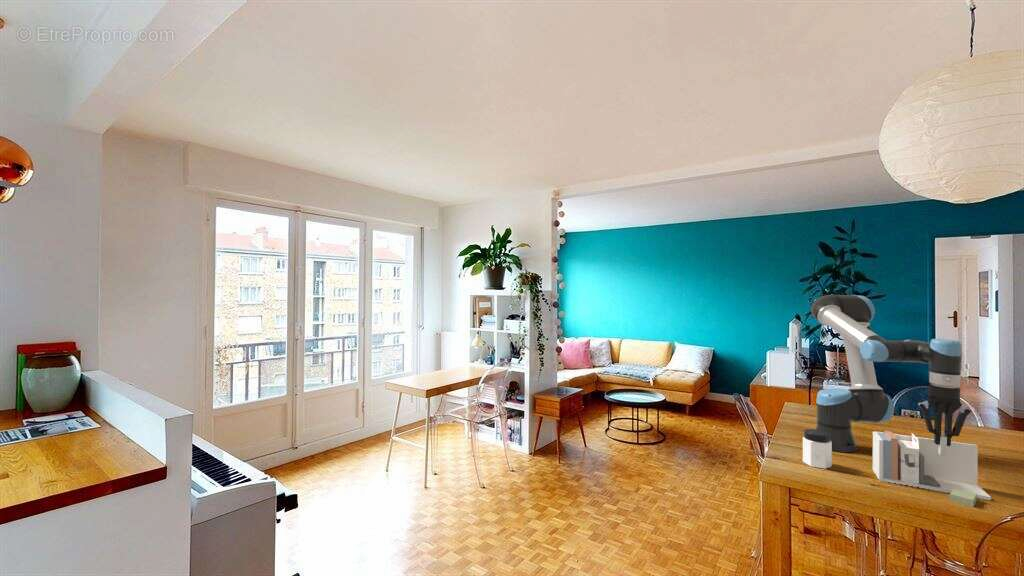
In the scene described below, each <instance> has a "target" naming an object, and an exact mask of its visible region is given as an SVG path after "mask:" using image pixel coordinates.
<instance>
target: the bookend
mask: <svg viewBox="0 0 1024 576" xmlns="http://www.w3.org/2000/svg"><path fill="white" fill-rule="evenodd" d="M919 483H921V484H927V485H933V486H939V487H941V485H940V484H939V483H938V482H937V481H936V480H935V478H934V477H933V476H928V475H924V456H923V455H922V454H921V453H920V452H919Z"/></svg>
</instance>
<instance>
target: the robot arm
mask: <svg viewBox="0 0 1024 576" xmlns="http://www.w3.org/2000/svg"><path fill="white" fill-rule="evenodd" d="M875 309H876V308H875V306H874V303H873V302H872V301H871V300H870V299H869V298H868V297H866V296H864V295H856V294H842V295H841V294H826V295H822V296H820V297H817V299H815V300H814V302H813V303H812V305H811V309H810V311H811V315H812V317H813V319H815V320H816V321H817V322H818V323H819V324H821V325H823V326H828V327H830V328H831V329H833V330H834V331H835V332H836V333H838V334H839V335H841V337H842V339H843V344H844V350H845V357H846V360H847V367H848V373H849V378H850V382H851V385H850V387H848V388H847V389H845V388H833V387H832V388H823V389H821V390H819V391H818V392H817V395H816V401H815V402H816V426H815V428H814V429H817V430H822V431H825V432H828V433H829V434H830V441H832V452H838V453H840V452H841V453H854V452H857V451H858V448H857V446H858V445H857V442H856V439H855V437H854V434H853V431H852V422H853V423H872V424H873V423H874V424H876V423H886V422H888V421H890V420H891V418H892V417H893V416H894V413H895V405H894V401H893V399H892V398H891V396H890V395H888V394H887V393H885V391H884V389H883V388H882V387H881V386H880V385H878V382H877V375H876V369H875V367H874V362H875V363H884V362H885V363H886V362H887V363H888V362H891V363H897V362H898V363H921V364H926V365H929V373H928V377H929V378H928V382H929V385H928V396H927V398H926V400H925V401H922V402H921V401H920V402H917V405H918V406H919V408H920V409H921V412H922V415H923V419H924V423H925V426H926V430H927V431H928V432H929V433H931V434H934V435H933V439H934V442H935V444H937V445H938V454H939V455H940V456H946V452H947V446H950V445H951V441H952V438H953V437H959V436H960V434H961V431H962V429H963V426H964V425H965V422H966V418H967V416H968V415H970V414H971V413H972V410H971V409H970V408H968V407H965V406H964V405H963V404H962V401H961V388H960V387H961V378H962V377H961V376H962V375H961V373H962V356H963V349H962V343H961V341H959V340H954V339H947V338H932V339H931V340H930V342H926V341H923V340H919V339H918V340H917V339H904V340H886V339H885V338H883V337H882V336H880V335H878V334H877V333H875V332H874V331H872V330H870V329H869V328H868V327H870V325H871V321H872V320H873V319H874V318H875V313H876V310H875ZM929 406H930V407H931V409H932V410H933V411H934V422H932V420H931V416H930V412H929V410H928V409H929ZM956 411H959V413H958V415H957V417H956V420H955V423H954V425H953V416H954V413H955V412H956ZM943 414H944V428H943V430H944V431H943V434H942V421H943V418H942V417H943ZM933 423H934V425H933Z"/></svg>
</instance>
